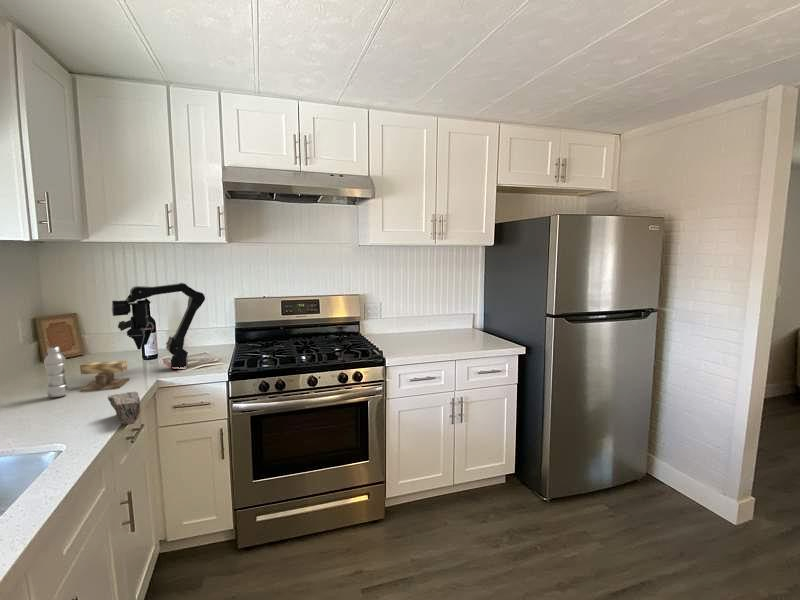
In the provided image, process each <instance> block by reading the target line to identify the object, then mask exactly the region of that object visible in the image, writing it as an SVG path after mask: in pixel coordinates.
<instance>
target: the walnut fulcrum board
mask: <svg viewBox="0 0 800 600" xmlns="http://www.w3.org/2000/svg"><path fill="white" fill-rule="evenodd" d="M94 377H95V380H91V381H90V382H88V383H87V384H85V386H83V387H81V388H80V390H79V391H85V392H92V391H91V390H97V391H103V390H102V389H109V390H117V389H116V388H120V387H121V388H122V387H123V386H124V385H125V384H127V383H128V382H129V380H130V378H129V377H125V378H124V377H121V378H115V373H102V374H95V376H94ZM121 388H120V389H121Z"/></svg>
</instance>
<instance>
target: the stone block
mask: <svg viewBox="0 0 800 600" xmlns="http://www.w3.org/2000/svg"><path fill="white" fill-rule="evenodd" d="M107 400H108V401H109V403H110V406H111V407H112V408H113V409H114V410H115V414H116V416H117V418H118V419H119V420H120V422H121V424H122V425H124V426H127V425H128V426H129V425H133V424H135V423H136V421H137V420H138V419H139V417H140V416H139V415H140V414H141V403H140V402H141V400H140V396H139V393H138V392H137V391H131V392H123V393H115V394H111V395H110V394H109V395H108V396H107Z"/></svg>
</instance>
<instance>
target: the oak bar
mask: <svg viewBox="0 0 800 600" xmlns="http://www.w3.org/2000/svg"><path fill="white" fill-rule="evenodd" d="M79 370H80V375H98V374H102V373H114V374H120V373H124V372H126V371H127V370H128V364H127V360H118V361H117V360H116V361H115V360H114V361H112V360H111V361H93V362H84V363H81V364H80V365H79Z"/></svg>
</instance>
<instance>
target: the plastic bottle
mask: <svg viewBox="0 0 800 600" xmlns="http://www.w3.org/2000/svg"><path fill="white" fill-rule="evenodd" d="M46 350H47V351H46V353H47V355H46V356H45V358H44V360H43V364H44V368H45V370H46V377H47V386H46V395H47V396H48V397H49V398H60V397H64V396H66V395H67V394H68V393H69V386H68V383H67V379H66V373H65V372H66V361H67V360H66V357H65V356H64V355H63V353H61V349H60V346H58V345H57V346H49V347H47V349H46Z"/></svg>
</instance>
